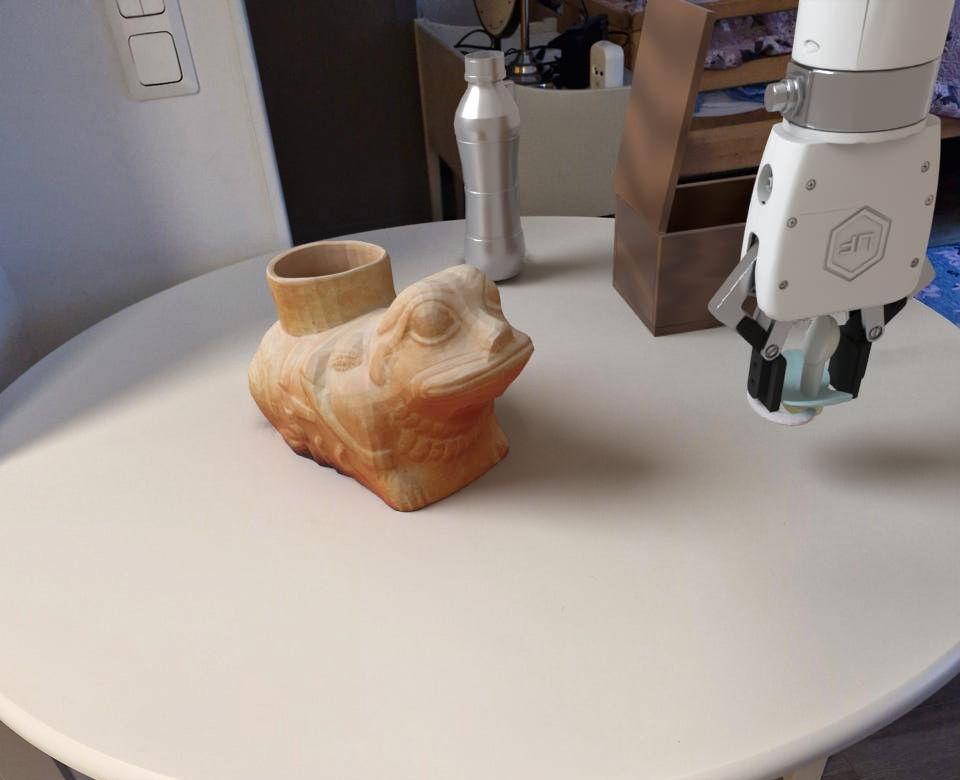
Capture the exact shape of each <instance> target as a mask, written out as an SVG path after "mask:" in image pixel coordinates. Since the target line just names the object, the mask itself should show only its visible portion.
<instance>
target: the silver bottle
mask: <svg viewBox="0 0 960 780" xmlns="http://www.w3.org/2000/svg"><path fill="white" fill-rule="evenodd" d="M505 68H506V63H505V53H504V52H503V51H500V50H480V51H479V50H478V51H474V52H470V53H467V54H465V55H464V71H465V72H464V81H466V82H467V88H466V90H465V92H464V94H463V96H462V97H461V99H460V101H459V104H458V106H457V108H456V111H455V114H454V121H453V128H454V134H455V136H456V137H455V139H456V140H455V141H456V144H457V149H458V153H459V158H460V159H459V160H460V163H461V172H462V179H463V180H462V181H463V184H464V189H463V190H464V195H465V232H464V238H463V253H462V254H463V259H464V263H465V264H467V265H472V266H474V267H476V268H477V269H479V270H481V271H483V272H485V273H486V274H487V275H488V276H489V277H490V278H491V279H492V280H493V281H494V282H495V281H502V280H507V279H511V278H513V277H515V276H516V275H518V274H519V273H520V272H521V270H522V268H523V267H524V265H525V261H526V260H525V259H526V252H527V247H526V240H525V233H524V230H523V227H522V221H521V212H520V211H521V210H520V203H519V201H520V200H519V193H518V191H519V189H518V184H519V183H518V178H519V177H518V175H519V151H520V140H521V129H522V116H521V112H520V109H519V107H518V104H517V102H516V101H515V99H514V97H513V95H512V94H511V93H510V92H509V89H508V88H507V87H506V85H505V83H504V79H505V78H506V77H507V70H506V69H505Z"/></svg>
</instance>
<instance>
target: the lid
mask: <svg viewBox="0 0 960 780" xmlns="http://www.w3.org/2000/svg"><path fill="white" fill-rule="evenodd" d="M716 18H717V11H713V10H712V9H708V8H706V7H703V6H700V5H698V4H696V3H693V2H691V1H688V0H647V1H646V6H645V12H644V17H643V22H642V27H641V33H640V38H639V43H638V44H639V45H638V49H637V54H636V60H635V63H634V69H633V75H632V81H631V86H630V91H629V96H628V102H627V107H626V113H625V118H624V123H623V129H622V133H621V138H620V143H619V144H620V145H619V149H618V155H617V160H616V166H615V170H614V177H613V181H612V182H613V183H612V187H611V188H612V190H614V191H615V192H616V194H617V193H618V194H619V195H620V196H621V197H622V198H623V199H624V200H625V201H626V202H627V203H628V204H629V205H631V206H632V207H633V208H634V209H635V210H636V211H637V212H638V213H639V214H640V215H641V216H642V217H643V218H644V219H645V220H646V221H647V222H648V223H649V224H650V225H651V226H652V227H653V228H655V229H656V230H657V231H658V232H666V229H667V225H668V221H669V216H670V212H671V208H672V203H673V199H674V195H675V190H676V186H677V185H678V183H679V182H678V181H679V177H680V173H681V168H682V164H683V161H684V155H685V151H686V147H687V143H688V139H689V133H690V129H691V126H692V121H693V116H694V113H695V108H696V104H697V99H698V97H699V96H698V95H699V90H700V86H701V82H702V77H703V74H704V69H705V65H706V60H707V56H708V52H709V48H710V43H711V40H712V36H713V35H712V34H713V30H714V26H715V21H716Z"/></svg>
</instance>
